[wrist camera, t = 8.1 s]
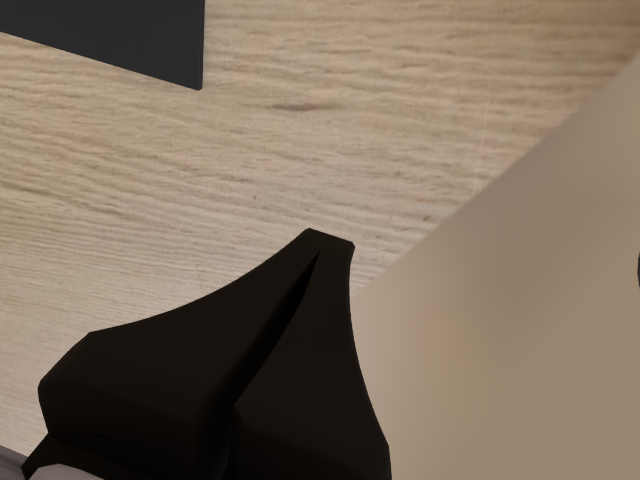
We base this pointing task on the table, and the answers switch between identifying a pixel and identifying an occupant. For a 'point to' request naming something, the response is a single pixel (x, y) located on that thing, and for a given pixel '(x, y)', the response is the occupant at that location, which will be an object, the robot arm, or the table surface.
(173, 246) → the table surface
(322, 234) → the robot arm
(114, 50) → the mat
